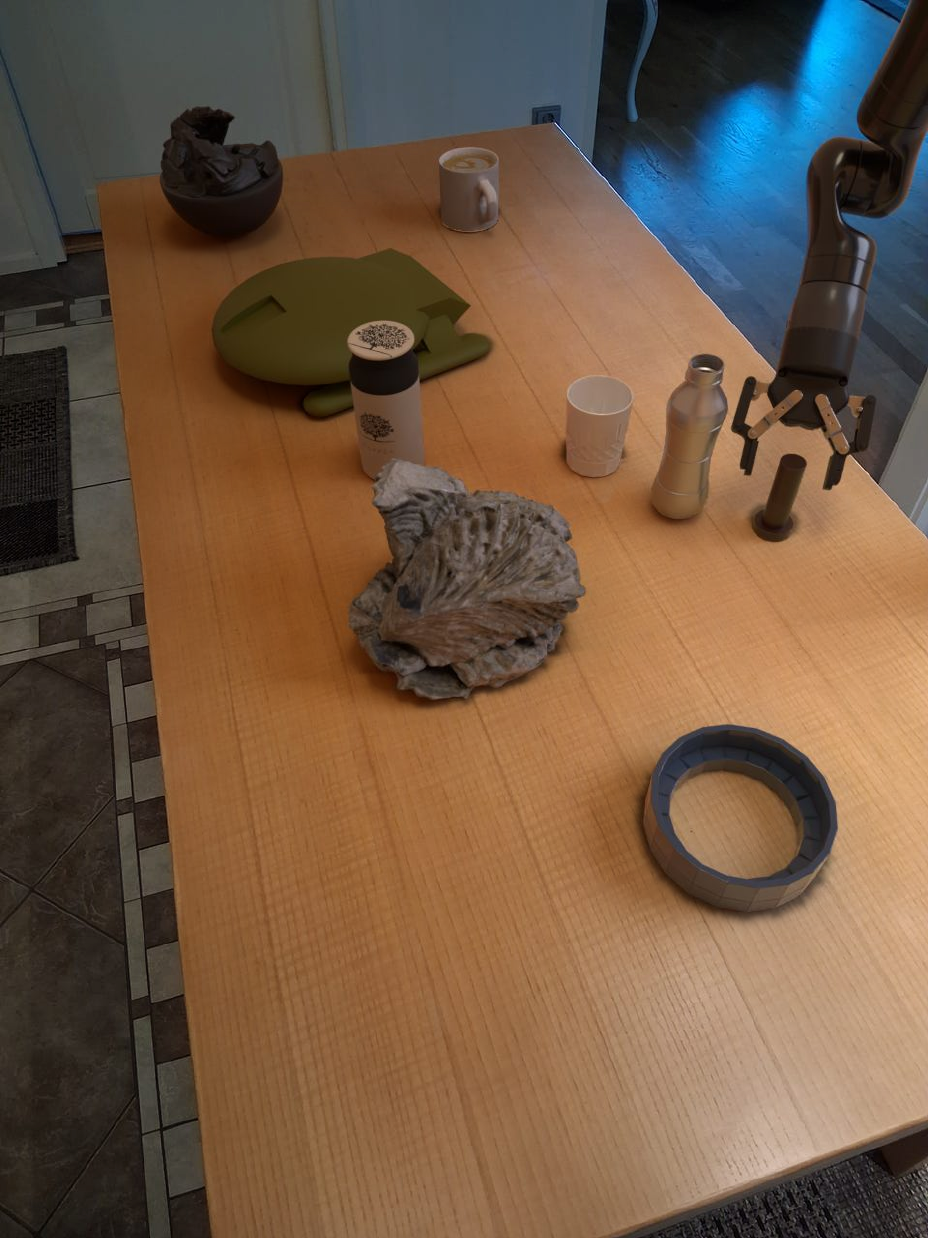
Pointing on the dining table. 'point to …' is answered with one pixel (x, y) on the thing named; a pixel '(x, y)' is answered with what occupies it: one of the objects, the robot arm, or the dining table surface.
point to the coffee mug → (469, 188)
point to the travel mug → (386, 395)
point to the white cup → (597, 424)
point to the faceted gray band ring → (761, 762)
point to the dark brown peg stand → (781, 500)
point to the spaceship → (337, 321)
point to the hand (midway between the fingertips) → (787, 482)
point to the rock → (463, 583)
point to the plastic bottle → (690, 438)
